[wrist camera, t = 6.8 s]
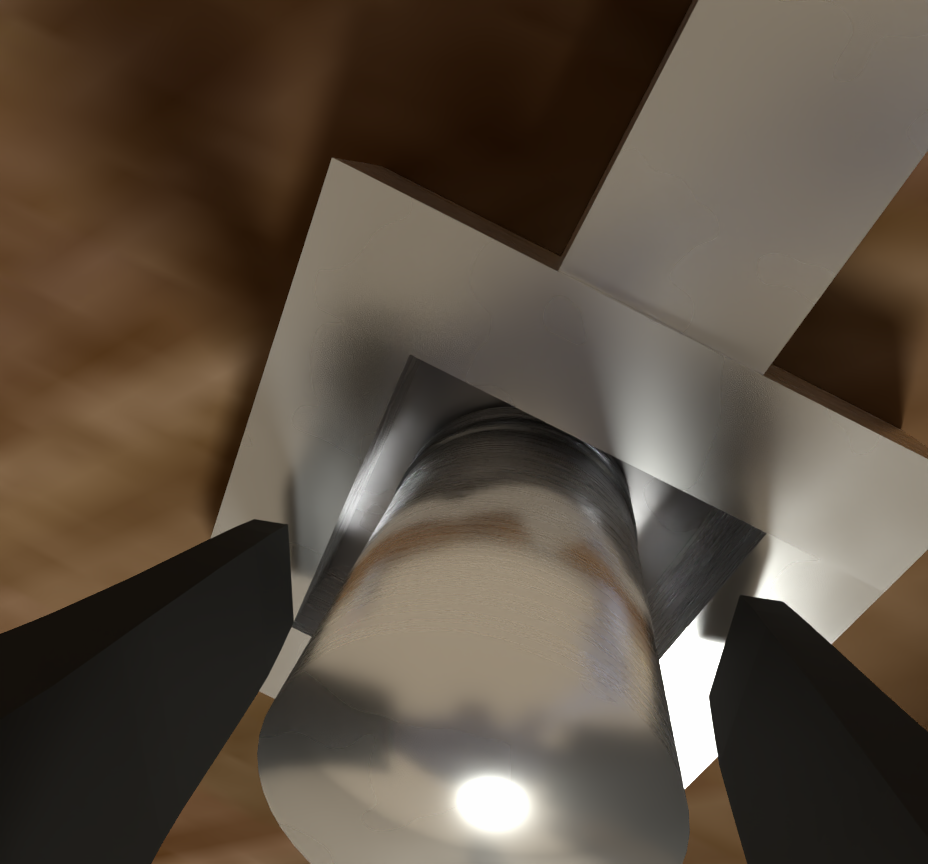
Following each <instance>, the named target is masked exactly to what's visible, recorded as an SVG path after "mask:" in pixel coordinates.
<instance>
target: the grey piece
mask: <svg viewBox="0 0 928 864" xmlns="http://www.w3.org/2000/svg"><path fill="white" fill-rule="evenodd" d="M927 151H928V0H693V1H692V3H691V5H690V7H689V9H688V11H687V13H686V15H685V16H684V18H683V20H682V22H681V24H680V26H679V28H678V30H677V32H676V34H675V36H674V38H673V40H672V42H671V44H670V46H669V48H668V49H667V51H666V53H665V55H664V57H663V59H662V61H661V63H660V65H659V67H658V69H657V71H656V73H655V75H654V77H653V79H652V81H651V82H650V84H649V86H648V88H647V90H646V92H645V94H644V96H643V98H642V100H641V102H640V104H639V106H638V108H637V110H636V112H635V114H634V116H633V117H632V119H631V121H630V123H629V125H628V127H627V129H626V131H625V133H624V135H623V137H622V139H621V141H620V143H619V145H618V147H617V149H616V150H615V152H614V154H613V156H612V158H611V160H610V162H609V164H608V166H607V168H606V170H605V172H604V174H603V176H602V178H601V180H600V182H599V183H598V185H597V187H596V189H595V191H594V193H593V195H592V197H591V199H590V201H589V203H588V205H587V207H586V209H585V211H584V213H583V215H582V216H581V218H580V220H579V222H578V224H577V226H576V228H575V230H574V232H573V234H572V236H571V238H570V240H569V242H568V244H567V246H566V248H565V250H564V251H563V253H562V255H561V257H560V256H558V255H556V254H554V253H552V252H550V251H548V250H546V249H544V248H542V247H540V246H538V245H536V244H534V243H532V242H530V241H528V240H526V239H524V238H522V237H520V236H518V235H517V234H515V233H513V232H511V231H509V230H507V229H505V228H503V227H501V226H499V225H497V224H495V223H493V222H491V221H489V220H487V219H485V218H483V217H481V216H479V215H477V214H475V213H473V212H471V211H469V210H467V209H465V208H463V207H461V206H459V205H457V204H455V203H453V202H451V201H449V200H448V199H446V198H444V197H442V196H440V195H438V194H436V193H434V192H432V191H430V190H428V189H426V188H424V187H422V186H420V185H418V184H416V183H414V182H412V181H410V180H408V179H406V178H404V177H402V176H400V175H398V174H396V173H394V172H392V171H390V170H388V169H386V168H384V167H382V166H379V165H373V164H368V163H362V162H356V161H350V160H345V159H339V158H333V157H332V159H331V162H330V165H329V169H328V172H327V175H326V178H325V181H324V184H323V187H322V191H321V194H320V197H319V200H318V203H317V206H316V209H315V212H314V216H313V219H312V222H311V225H310V228H309V231H308V234H307V238H306V241H305V244H304V247H303V250H302V253H301V256H300V260H299V263H298V266H297V269H296V272H295V275H294V278H293V281H292V285H291V288H290V291H289V294H288V297H287V300H286V303H285V307H284V310H283V313H282V316H281V319H280V322H279V325H278V329H277V332H276V335H275V338H274V341H273V344H272V347H271V350H270V354H269V357H268V360H267V363H266V366H265V369H264V372H263V376H262V379H261V382H260V385H259V388H258V391H257V394H256V398H255V401H254V404H253V407H252V410H251V413H250V416H249V419H248V423H247V426H246V429H245V432H244V435H243V438H242V441H241V445H240V448H239V451H238V454H237V457H236V460H235V463H234V467H233V470H232V473H231V476H230V479H229V482H228V485H227V488H226V492H225V495H224V498H223V501H222V504H221V507H220V510H219V514H218V517H217V520H216V523H215V526H214V529H213V532H212V536H211V538H213V537H215V536H217V535H219V534H221V533H223V532H225V531H228V530H230V529H232V528H234V527H236V526H238V525H241V524H243V523H246V522H248V521H251V520H253V519H257V520H263V521H270V522H276V523H283V524H288V530H289V547H290V564H291V581H292V598H293V615H294V623H293V625H292V627H291V630H290V632H289V634H288V636H287V638H286V640H285V643H284V645H283V647H282V649H281V651H280V653H279V655H278V657H277V659H276V661H275V663H274V665H273V667H272V669H271V671H270V673H269V675H268V677H267V679H266V681H265V682H264V684H263V685H262V687H261V689H260V690H259V691H260V692H262V693H264V694H266V695H268V696H270V697H272V698H274V699H275V698H276V697H277V695H278V693H279V691H280V690H281V688H282V686H283V685H284V683H285V681H286V680H287V678H288V676H289V674H290V673H291V671H292V669H293V668H294V666H295V664H296V663H297V661H298V659H299V658H300V656H301V654H302V652H303V651H304V649H305V647H306V646H307V644H308V642H309V641H310V639H311V637H312V635H313V634H314V632H315V630H316V629H317V627H318V625H319V624H320V622H321V620H322V619H323V617H324V615H325V613H326V612H327V610H328V608H329V607H330V605H331V603H332V602H333V600H334V598H335V596H336V595H337V593H338V591H339V590H340V588H341V586H342V585H343V583H344V581H345V580H346V578H347V576H348V574H349V573H350V571H351V569H352V568H353V566H354V564H355V563H356V561H357V559H358V557H359V556H360V554H361V552H362V551H363V549H364V547H365V546H366V544H367V542H368V541H369V539H370V537H371V535H372V534H373V532H374V530H375V529H376V527H377V525H378V524H379V522H380V520H381V518H382V517H383V515H384V513H385V512H386V510H387V508H388V507H389V505H390V503H391V501H392V499H393V497H394V494H395V491H396V489H397V487H398V485H399V483H400V481H401V479H402V477H403V476H404V474H405V472H406V471H407V469H408V467H409V466H410V464H411V462H412V461H413V459H414V457H415V456H416V454H417V453H418V451H419V450H420V449H421V447H422V446H423V445H424V443H425V442H426V441H427V440H428V439H429V438H430V437H431V436H432V435H433V434H434V433H435V432H437V431H438V430H440V429H441V428H442V427H444V426H445V425H446V424H448V423H450V422H452V421H454V420H455V419H457V418H459V417H462V416H464V415H467V414H470V413H472V412H475V411H480V410H484V409H488V408H497V407H516V408H518V409H520V410H522V411H524V412H526V413H528V414H530V415H532V416H534V417H536V418H538V419H540V420H542V421H544V422H546V423H548V424H550V425H552V426H554V427H556V428H558V429H560V430H562V431H564V432H566V433H568V434H570V435H572V436H574V437H576V438H578V439H580V440H582V441H584V442H586V443H588V444H590V445H592V446H594V447H596V448H598V449H600V450H602V451H604V452H606V453H608V454H610V455H612V457H613V458H614V459H615V461H616V462H617V464H618V466H619V468H620V469H621V471H622V473H623V475H624V478H625V480H626V483H627V485H628V489H629V493H630V498H631V502H632V507H633V512H634V517H635V522H636V527H637V539H638V546H637V548H638V553H639V558H640V563H641V568H642V573H643V579H644V584H645V589H646V594H647V599H648V604H649V610H650V615H651V620H652V625H653V630H654V635H655V640H656V646H657V651H658V656H659V661H660V666H661V671H662V677H663V682H664V687H665V692H666V697H667V702H668V707H669V713H670V718H671V723H672V728H673V733H674V738H675V743H676V749H677V754H678V759H679V764H680V769H681V774H682V780H683V785H684V789H685V788H686V787H687V786H688V785H689V784H690V783H691V782H692V781H693V780H694V779H695V778H696V777H697V776H698V775H699V774H700V773H701V772H702V771H703V770H704V769H705V768H706V767H707V766H708V765H709V764H710V763H711V762H712V761H713V760H714V759H715V758H716V757H717V756H718V755H717V749H716V743H715V737H714V731H713V724H712V718H711V711H710V704H709V697H708V696H709V693H710V690H711V686H712V683H713V680H714V677H715V673H716V670H717V667H718V664H719V661H720V657H721V654H722V651H723V648H724V644H725V641H726V638H727V635H728V632H729V628H730V625H731V622H732V619H733V616H734V612H735V609H736V606H737V603H738V599H739V596H740V595H745V596H752V597H758V598H764V599H771V600H777V601H783V602H784V603H786V604H787V605H788V606H789V607H790V608H792V609H793V610H794V611H795V612H796V613H797V614H799V615H800V616H801V617H802V618H803V619H804V620H805V621H806V622H808V623H809V624H810V625H811V626H812V627H813V628H814V629H815V630H816V631H817V632H819V633H820V634H821V635H822V636H823V637H824V638H825V639H826V640H827V641H828V642H829V643H830V644H832V643H833V642H834V641H835V640H836V639H837V638H838V637H839V636H840V635H841V634H842V633H843V632H844V631H845V630H846V629H847V628H848V627H849V626H850V625H851V624H852V623H853V622H854V621H855V620H856V619H857V618H858V617H859V616H860V615H861V614H863V613H864V612H865V611H866V610H867V609H868V608H869V607H870V606H871V605H872V604H873V603H874V602H875V601H876V600H877V599H878V598H879V597H880V596H881V595H882V594H883V593H884V592H885V591H886V590H887V589H888V588H889V587H890V586H891V585H892V584H893V583H894V582H895V581H896V580H897V579H898V578H899V577H900V576H901V575H902V574H903V573H904V572H905V571H906V570H907V569H908V568H909V567H910V566H911V565H912V564H913V563H914V562H915V561H916V560H917V559H918V558H919V557H920V556H921V555H922V554H923V553H924V552H925V551H926V550H927V549H928V448H927V447H926V446H925V445H923V444H922V443H920V442H919V441H917V440H916V439H914V438H913V437H912V436H910V435H909V434H907V433H906V432H904V431H903V430H901V429H899V428H897V427H895V426H893V425H891V424H889V423H887V422H885V421H883V420H881V419H879V418H877V417H875V416H873V415H871V414H869V413H867V412H865V411H864V410H862V409H860V408H858V407H856V406H854V405H852V404H850V403H848V402H846V401H844V400H842V399H840V398H838V397H836V396H834V395H832V394H830V393H828V392H826V391H824V390H822V389H820V388H818V387H816V386H814V385H812V384H810V383H808V382H806V381H804V380H802V379H800V378H798V377H796V376H795V375H793V374H791V373H789V372H787V371H785V370H783V369H781V368H779V367H777V366H775V365H773V364H772V362H773V361H774V360H775V358H776V357H777V355H778V354H779V353H780V351H781V350H782V349H783V347H784V346H785V345H786V343H787V342H788V340H789V339H790V338H791V336H792V335H793V334H794V332H795V331H796V329H797V328H798V327H799V325H800V324H801V323H802V321H803V320H804V319H805V317H806V316H807V314H808V313H809V312H810V310H811V309H812V308H813V306H814V305H815V304H816V302H817V301H818V299H819V298H820V297H821V295H822V294H823V293H824V291H825V290H826V289H827V287H828V286H829V284H830V283H831V282H832V280H833V279H834V278H835V276H836V275H837V274H838V272H839V271H840V269H841V268H842V267H843V265H844V264H845V263H846V261H847V260H848V259H849V257H850V256H851V254H852V253H853V252H854V250H855V249H856V248H857V246H858V245H859V243H860V242H861V241H862V239H863V238H864V237H865V235H866V234H867V233H868V231H869V230H870V228H871V227H872V226H873V224H874V223H875V222H876V220H877V219H878V218H879V216H880V215H881V213H882V212H883V211H884V209H885V208H886V207H887V205H888V204H889V203H890V201H891V200H892V198H893V197H894V196H895V194H896V193H897V192H898V190H899V189H900V188H901V186H902V185H903V183H904V182H905V181H906V179H907V178H908V177H909V175H910V174H911V173H912V171H913V170H914V168H915V167H916V166H917V164H918V163H919V162H920V160H921V159H922V157H923V156H924V155H925V153H926V152H927Z"/></svg>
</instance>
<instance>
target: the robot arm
mask: <svg viewBox="0 0 928 864" xmlns="http://www.w3.org/2000/svg"><path fill="white" fill-rule="evenodd" d="M293 623H294V615H293V598H292V581H291V564H290V547H289V530H288V524H283V523H276V522H270V521H263V520H257V519H253V520H251V521H248V522H246V523H243V524H241V525H238V526H236V527H234V528H232V529H230V530H228V531H225V532H223V533H221V534H219V535H217V536H215V537H213V538H211V539H209V540H207V541H205V542H203V543H201V544H199V545H197V546H195V547H193V548H191V549H189V550H187V551H185V552H183V553H180V554H178V555H176V556H174V557H172V558H170V559H168V560H166V561H164V562H162V563H160V564H158V565H156V566H154V567H152V568H150V569H148V570H146V571H144V572H142V573H140V574H137V575H135V576H133V577H131V578H129V579H127V580H125V581H123V582H120V583H118V584H116V585H114V586H111V587H109V588H107V589H105V590H103V591H100V592H98V593H96V594H94V595H91V596H89V597H87V598H85V599H82V600H80V601H78V602H76V603H74V604H71V605H69V606H67V607H65V608H62V609H60V610H58V611H56V612H53V613H51V614H49V615H46V616H44V617H41V618H39V619H37V620H34V621H32V622H29V623H27V624H24V625H22V626H19V627H17V628H14V629H12V630H9V631H7V632H4V633H1V634H0V864H151V863H152V861H153V859H154V857H155V856H156V854H157V852H158V850H159V848H160V846H161V844H162V843H163V841H164V839H165V838H166V836H167V834H168V833H169V831H170V829H171V828H172V826H173V824H174V823H175V821H176V819H177V818H178V816H179V814H180V813H181V811H182V809H183V808H184V806H185V805H186V803H187V802H188V800H189V799H190V797H191V796H192V794H193V792H194V791H195V789H196V788H197V786H198V785H199V783H200V782H201V780H202V779H203V777H204V775H205V774H206V772H207V771H208V769H209V768H210V766H211V765H212V763H213V762H214V760H215V759H216V757H217V755H218V754H219V752H220V751H221V749H222V748H223V746H224V745H225V743H226V742H227V740H228V739H229V737H230V735H231V734H232V732H233V731H234V729H235V728H236V726H237V725H238V723H239V722H240V720H241V718H242V717H243V715H244V714H245V712H246V711H247V709H248V708H249V706H250V704H251V703H252V701H253V700H254V698H255V697H256V695H257V693H258V692H259V690H260V689H261V687H262V685H263V684H264V682H265V681H266V679H267V677H268V675H269V673H270V671H271V669H272V667H273V665H274V663H275V661H276V659H277V657H278V655H279V653H280V651H281V649H282V647H283V645H284V643H285V640H286V638H287V636H288V634H289V632H290V630H291V627H292V625H293ZM708 697H709V704H710V711H711V718H712V724H713V731H714V737H715V743H716V749H717V755H718V760H719V766H720V769H721V773H722V777H723V780H724V784H725V787H726V791H727V795H728V798H729V802H730V805H731V809H732V812H733V816H734V819H735V823H736V826H737V830H738V833H739V837H740V840H741V843H742V847H743V850H744V854H745V857H746V861H747V864H928V732H927V731H926V730H925V729H924V728H923V727H921V726H920V725H919V724H918V723H917V722H916V721H915V720H914V719H912V718H911V717H910V716H909V715H908V714H907V713H906V712H905V711H903V710H902V709H901V708H900V707H899V706H898V705H897V704H896V703H895V702H894V701H892V700H891V699H890V698H889V697H888V696H887V695H886V694H885V693H884V692H882V691H881V690H880V689H879V688H878V687H877V686H876V685H875V684H874V683H873V682H872V681H870V680H869V679H868V678H867V677H866V676H865V675H864V674H863V673H862V672H861V671H860V670H858V669H857V668H856V667H855V666H854V665H853V664H852V663H851V662H850V661H849V660H848V659H847V658H846V657H844V656H843V655H842V654H841V653H840V652H839V651H838V650H837V649H836V648H835V647H834V646H833V645H832V644H830V643H829V642H828V641H827V640H826V639H825V638H824V637H823V636H822V635H821V634H820V633H819V632H817V631H816V630H815V629H814V628H813V627H812V626H811V625H810V624H809V623H808V622H806V621H805V620H804V619H803V618H802V617H801V616H800V615H799V614H797V613H796V612H795V611H794V610H793V609H792V608H790V607H789V606H788V605H787V604H786V603H784V602H783V601H777V600H771V599H764V598H758V597H752V596H745V595H740V596H739V599H738V603H737V606H736V609H735V612H734V616H733V619H732V622H731V625H730V628H729V632H728V635H727V638H726V641H725V644H724V648H723V651H722V654H721V657H720V661H719V664H718V667H717V670H716V673H715V677H714V680H713V683H712V686H711V690H710V693H709V696H708Z"/></svg>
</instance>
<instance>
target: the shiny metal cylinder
mask: <svg viewBox="0 0 928 864" xmlns="http://www.w3.org/2000/svg"><path fill="white" fill-rule="evenodd" d="M637 546H638V539H637V527H636V522H635V517H634V512H633V507H632V502H631V498H630V493H629V489H628V485H627V483H626V480H625V478H624V475H623V473H622V471H621V469H620V468H619V466H618V464H617V462H616V461H615V459H614V458H613V457H612V455H610V454H608V453H606V452H604V451H602V450H600V449H598V448H596V447H594V446H592V445H590V444H588V443H586V442H584V441H582V440H580V439H578V438H576V437H574V436H572V435H570V434H568V433H566V432H564V431H562V430H560V429H558V428H556V427H554V426H552V425H550V424H548V423H546V422H544V421H542V420H540V419H538V418H536V417H534V416H532V415H530V414H528V413H526V412H524V411H522V410H520V409H518V408H516V407H497V408H488V409H484V410H480V411H475V412H472V413H470V414H467V415H464V416H462V417H459V418H457V419H455V420H454V421H452V422H450V423H448V424H446V425H445V426H444V427H442V428H441V429H440V430H438V431H437V432H435V433H434V434H433V435H432V436H431V437H430V438H429V439H428V440H427V441H426V442H425V443H424V445H423V446H422V447H421V449H420V450H419V451H418V453H417V454H416V456H415V457H414V459H413V461H412V462H411V464H410V466H409V467H408V469H407V471H406V472H405V474H404V476H403V477H402V479H401V481H400V483H399V485H398V487H397V489H396V491H395V494H394V497H393V499H392V501H391V503H390V505H389V507H388V508H387V510H386V512H385V513H384V515H383V517H382V518H381V520H380V522H379V524H378V525H377V527H376V529H375V530H374V532H373V534H372V535H371V537H370V539H369V541H368V542H367V544H366V546H365V547H364V549H363V551H362V552H361V554H360V556H359V557H358V559H357V561H356V563H355V564H354V566H353V568H352V569H351V571H350V573H349V574H348V576H347V578H346V580H345V581H344V583H343V585H342V586H341V588H340V590H339V591H338V593H337V595H336V596H335V598H334V600H333V602H332V603H331V605H330V607H329V608H328V610H327V612H326V613H325V615H324V617H323V619H322V620H321V622H320V624H319V625H318V627H317V629H316V630H315V632H314V634H313V635H312V637H311V639H310V641H309V642H308V644H307V646H306V647H305V649H304V651H303V652H302V654H301V656H300V658H299V659H298V661H297V663H296V664H295V666H294V668H293V669H292V671H291V673H290V674H289V676H288V678H287V680H286V681H285V683H284V685H283V686H282V688H281V690H280V691H279V693H278V695H277V697H276V698H275V700H274V702H273V704H272V705H271V707H270V709H269V711H268V713H267V715H266V716H265V719H264V722H263V726H262V729H261V732H260V735H259V744H258V753H257V754H258V769H259V776H260V780H261V784H262V788H263V792H264V794H265V797H266V799H267V802H268V804H269V807H270V809H271V811H272V813H273V815H274V816H275V818H276V820H277V822H278V824H279V825H280V827H281V829H282V830H283V831H284V833H285V834H286V835H287V837H288V838H289V839H290V841H291V842H292V843H293V845H294V846H295V847H296V848H297V849H298V850H299V851H300V852H301V854H302V855H303V856H304V857H305V858H306V859H307V860H308V861H309V862H310V863H311V864H682V863H683V860H684V857H685V855H686V851H687V845H688V839H689V833H690V831H689V810H688V805H687V800H686V795H685V790H684V785H683V780H682V774H681V769H680V764H679V759H678V754H677V749H676V743H675V738H674V733H673V728H672V723H671V718H670V713H669V707H668V702H667V697H666V692H665V687H664V682H663V677H662V671H661V666H660V661H659V656H658V651H657V646H656V640H655V635H654V630H653V625H652V620H651V615H650V610H649V604H648V599H647V594H646V589H645V584H644V579H643V573H642V568H641V563H640V558H639V553H638V548H637Z"/></svg>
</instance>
